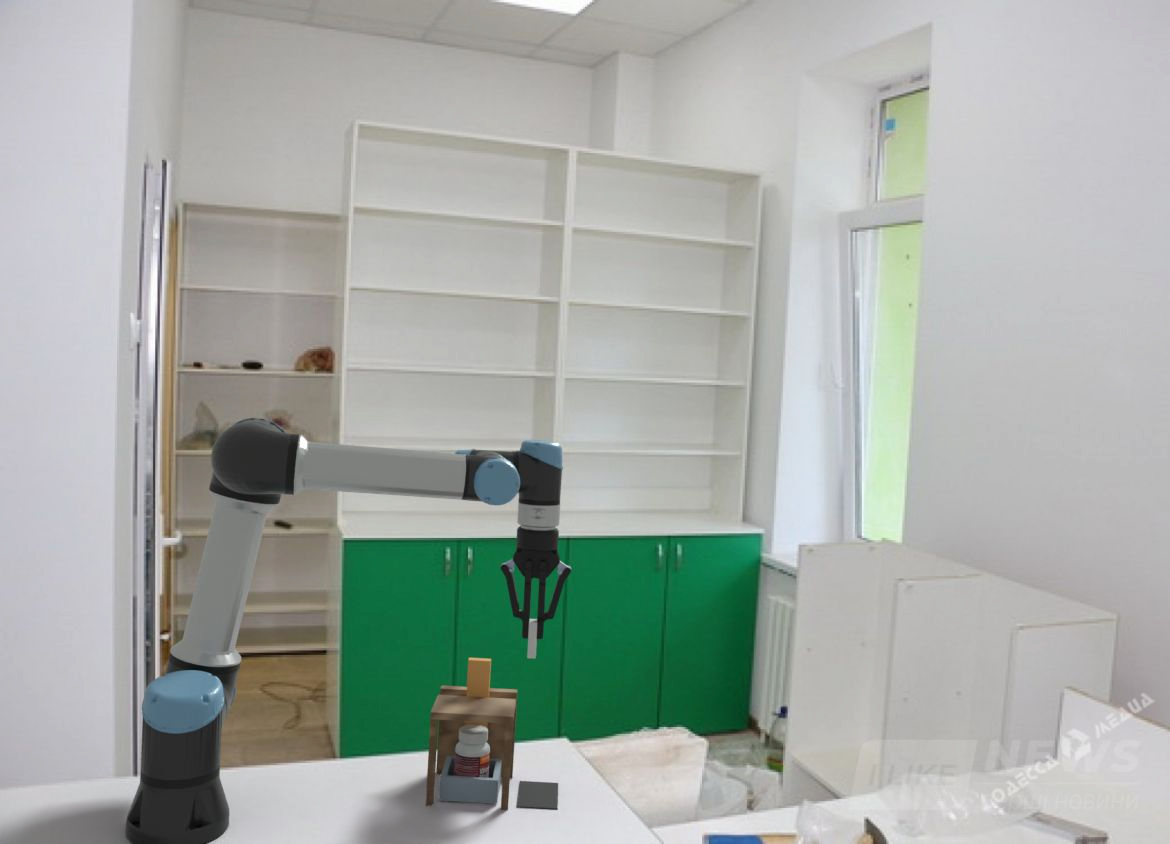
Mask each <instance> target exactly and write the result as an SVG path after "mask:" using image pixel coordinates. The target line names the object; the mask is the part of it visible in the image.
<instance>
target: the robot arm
mask: <svg viewBox="0 0 1170 844" xmlns="http://www.w3.org/2000/svg"><path fill="white" fill-rule="evenodd" d="M520 445H521V447H520V448H519V450H515V451H513V450H512V451H506V450H505V451H504V450H503V451H502V450H487V449H475V448H471V449H458V450H457V451H455V453H449V452H439V451H438V452H436V451H425V450H413V449H412V450H411V449H400V448H389V447H377V446H376V447H375V446H365V445H354V444H342V443H340V444H339V443H327V442H316V441H309V440H307V439H306V438H305V436H304V435H303V434H297V433H296V434H295V433H288V432H286V431H285V430H284V429H283V428H282V427H281V426H280V425H278V424H277V423H275V422H274V421H271V420H267V419H266V418H259V417H248V418H245V419H241V420H238V421H237V422H235V423H234V424H232V425H231V426H230V427H228V428H226V429H225V430H224V431H222V432H221V433H220V435H218V437H217V438H216V440H215V442H214V443H213V447H212V450H211V453H210V455H211V456H210V462H211V467H212V475H211V480H210V485H209V488H208V493H209V494H210V495H211V497H212V499H213V500H214V508H213V512H212V515H211V521H210V524H209V528H208V534H207V535H206V536H207V537H206V540H205V546H204V549H203V553H202V558H201V562H200V564H199V570H198V574H197V578H196V583H195V585H194V591H193V595H192V599H191V603H190V607H189V612H188V616H187V620H186V623H185V628H184V632H183V637H182V639H181V640H179V641H178V642H177V643H175V644H174V645H172V646H171V648H170V650H169V654H168V658H167V662H166V665H165V666H166V667H165V671H164V675H163V676H162V675H160V676H158V677H156V678H154V680H152V681H151V682H150V683H148V685H147V687H146V688H145V690H144V694H143V700H142V703H141V711H142V712H141V713H142V714H141V715H142V724H141V726H142V727H141V747H140V749H141V752H140V755H141V756H140V773H139V774H140V776H139V784H138V787H137V789H136V791H135V792H136V793H135V795H134V798H133V800H132V803H131V805H130V807H129V808H130V809H129V811H128V813H127V816H126V820H125V837H126V838H127V840H128V841H129V842H131V843H132V844H206V843H208V842H211V841H214V840H215V839H217V838H219V837H220V836H222V835H223V834H224V833H225V832H226V831H227V829H228V828H229V826H230V807H229V803H228V800H227V797H226V793H225V789H224V787H223V784H222V780H221V778H220V777H221V776H220V774H221V773H220V772H221V770H220V769H221V752H222V734H223V733H222V731H223V727H224V724H225V721H226V719H227V716H228V714H229V711H230V708H231V707H232V705H233V703H234V700H235V698H236V697H235V696H236V693H237V692H236V691H237V688H236V685H237V679H238V675H239V672H240V671H239V670H240V667H241V664H242V656H241V654H240V653H239V652H238V650H237V649H236V644H237V641H238V637H239V632H240V627H241V625H242V620H243V616H244V612H245V607H246V603H247V599H248V595H249V592H250V591H249V590H250V586H251V582H252V578H253V574H254V570H255V565H256V561H257V557H258V555H259V554H258V553H259V549H260V546H261V541H262V536H263V532H264V528H265V524H266V521H267V516H268V513H269V512H270V511H271V510H273V509H274V508H276V507H278V506H279V504H280V500H281V497H282V495H290V496H291V495H293V496H296V495H298V494H300V493H301V492H302V491H303V490H311V491H312V490H313V491H324V492H325V491H327V492H328V491H329V492H339V493H341V492H342V493H343V492H345V493H359V494H373V495H384V496H385V495H389V496H401V497H402V496H404V497H417V498H428V499H429V498H431V499H446V500H447V499H448V500H462V501H466V502H467V501H468V502H482V503H485V504H487V505H489V506H502V505H506V504H508V503H510V502H511V501H512V500H514V498H515V497H516V496H517V495H518V504H517V506H518V507H517V524H518V525H519V526H518V527H517V528H516V541H515V542H516V543H515V544H516V546H515V552H514V553H513V556H512V558H511V559H510V560H507V561H503V562H502V563H501V565H500V570H501V572H502V574H503V575H504V577H505V580H506V586H507V592H508V596H509V602H510V607H511V612H512V616H513V617H514V618H517V619H520V621H522V628H521V637H522V639H524V640H526V639H527V654H526V657H527V659H536V657H537V645H538V644H537V640H542V639H543V638H544V630H545V629H544V627H545V626H544V625H545V621H547V620H552V619H554V618H555V615H556V611H557V608H558V605H559V601H560V598H561V594H562V592H563V588H564V584H565V581H566V580H567V578H568V577H569V575H570V574H571V572H572V567H571V565H569V564H565V563H564V562H562V561H561V557H560V555H559V535H560V530H559V529H558V528H557V527H558V526H559V525H560V518H561V517H560V516H561V492H562V491H561V490H562V479H563V478H562V477H563V476H562V475H563V469H564V467H563V448H562V447H563V446H562V445H561V444H560V443H559V442H556V441H552V440H537V439H536V440H535V439H534V440H527V439H526V440H523V441H522V442H521V444H520ZM515 566H516V567H517V569H518V571H519V572H520V574H521V575H522V576H523V577H524V584H523V585H524V587H523V588H524V589H523V608H522V609H521V608H520V607H521V606H520V603H519V598H518V597H519V596H518V593H517V587H516V582H515V576H514V572H515ZM556 568H558V569H557V574H558V578H557V579H556V580H557V581H556V583H555V586H554V591H553V593H552V597H551V600H550V602H549V606H548V610H547V611H546V610H545V605H546V589H547V588H546V586H547V578H548V577H550V575H551V574H553V572H554V571H555V570H556ZM533 579H538V595H537V596H538V597H537V618H531V603H532V601H531V600H532V586H533V585H532V583H533Z"/></svg>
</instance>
